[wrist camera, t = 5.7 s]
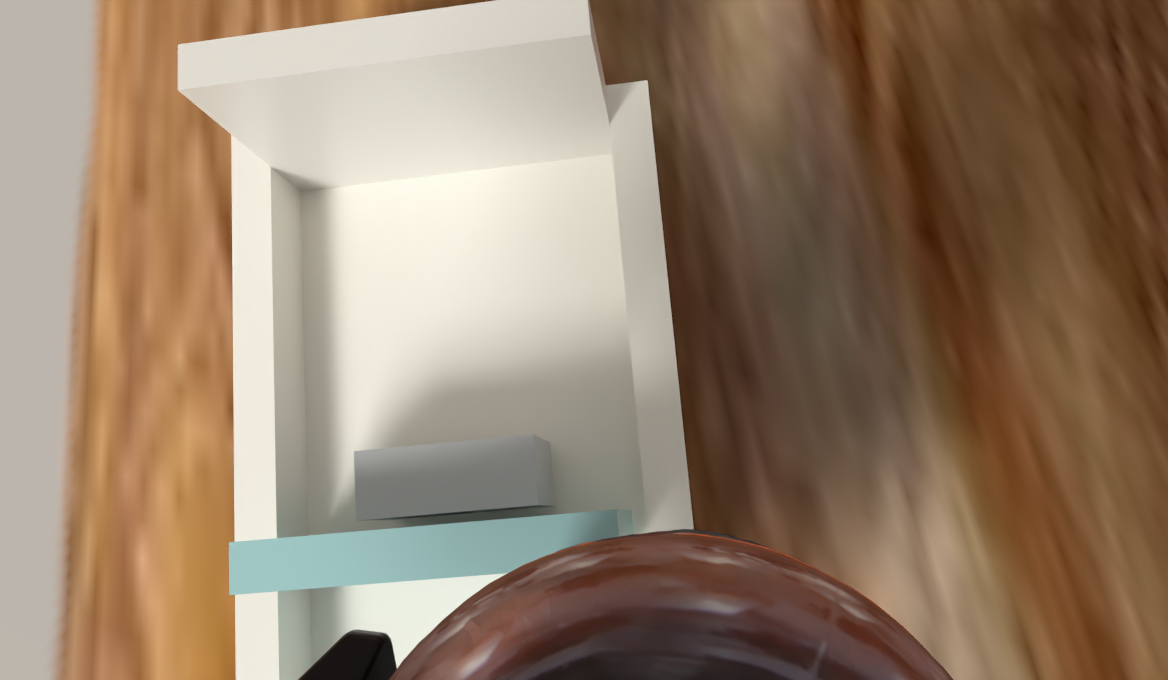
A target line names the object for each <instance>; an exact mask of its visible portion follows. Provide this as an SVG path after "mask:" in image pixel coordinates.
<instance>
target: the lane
mask: <svg viewBox="0 0 1168 680" xmlns="http://www.w3.org/2000/svg"><path fill="white" fill-rule="evenodd" d="M178 91H179V92H181V93H182V94H183V95H184V96H186V97H187V98H188V99H189V100H190V101H192V102H193V103H194V104H195V105H196V106H198V107H199V108H200V109H201V110H202V111H204V112H205V113H206V114H207V115H209V116H210V117H211V118H212V119H213V120H215V121H216V122H217V123H218V124H219V125H221V126H222V127H223V128H224V129H225V130H227V131H228V132H229V133H230V134H231V143H232V265H233V387H234V508H235V542H238V541H250V540H262V539H273V538H285V537H297V536H309V535H321V534H332V533H344V532H356V531H368V530H379V529H391V528H403V527H415V526H427V525H438V524H450V523H462V522H474V521H486V520H497V519H509V518H521V517H533V516H544V515H556V514H568V513H580V512H592V511H603V510H615V509H618V510H631V511H632V522H633V533H634V534H643V533H650V532H657V531H671V530H680V529H694V526H693V517H692V507H691V497H690V488H689V478H688V468H687V459H686V449H685V439H684V430H683V420H682V410H681V401H680V391H679V381H678V371H677V362H676V352H675V342H674V333H673V323H672V313H671V304H670V294H669V284H668V275H667V265H666V255H665V245H664V236H663V226H662V216H661V207H660V197H659V187H658V178H657V168H656V158H655V149H654V139H653V129H652V119H651V110H650V100H649V90H648V81H647V80H645V81H637V82H629V83H621V84H614V85H606V84H605V79H604V74H603V69H602V64H601V59H600V53H599V48H598V43H597V38H596V33H595V28H594V23H593V18H592V13H591V8H590V3H589V0H495V1H488V2H481V3H473V4H466V5H459V6H452V7H445V8H438V9H430V10H423V11H416V12H409V13H402V14H394V15H387V16H380V17H373V18H366V19H359V20H351V21H344V22H337V23H330V24H323V25H316V26H308V27H301V28H294V29H287V30H280V31H273V32H265V33H258V34H251V35H244V36H237V37H230V38H222V39H215V40H208V41H201V42H194V43H186V44H179V45H178ZM532 434H534V435H536V436H538V437H540V438H542V439H544V440H546V441H548V442H550V446H551V460H552V473H553V487H554V500H555V506H549V507H537V508H526V509H514V510H502V511H491V512H479V513H467V514H456V515H444V516H433V517H421V518H409V519H398V520H369V521H356V504H355V474H354V451H361V450H372V449H383V448H393V447H404V446H415V445H425V444H436V443H447V442H458V441H468V440H479V439H490V438H500V437H511V436H522V435H532ZM506 574H507V573H503V574H491V575H478V576H465V577H453V578H440V579H428V580H415V581H402V582H390V583H377V584H364V585H352V586H339V587H326V588H314V589H301V590H289V591H276V592H263V593H251V594H238V595H235V630H236V680H298V679H299V678H300V677H301V676H302V675H303V674H304V673H305V672H306V671H307V670H308V669H309V668H310V667H311V666H312V665H313V664H314V663H315V662H316V661H317V660H319V659H320V658H321V657H322V656H323V655H324V654H325V653H326V652H327V651H328V650H329V649H330V648H331V647H332V646H333V645H334V644H335V643H336V642H337V641H338V640H339V639H340V638H341V637H342V636H343V635H344V634H346V633H347V632H349V631H352V630H357V629H358V630H367V631H375V632H383V633H386V634H387V635H388V636H389V637H390V638H391V641H392V645H393V650H394V656H395V661H396V666H397V668H398V667H399V665H400V664H401V663H402V661H403V660H404V659H405V658H406V657H407V656H408V654H409V653H410V652H411V651H412V650H413V649H414V648H415V647H416V645H417V644H418V643H419V642H420V641H421V640H422V639H424V638H425V637H426V636H427V635H428V634H429V633H430V632H431V631H432V630H433V629H434V628H435V627H436V626H437V625H438V624H439V623H440V622H441V621H442V620H443V619H444V618H446V617H447V616H448V615H449V614H450V613H451V612H453V611H454V610H455V609H456V608H457V607H459V606H460V605H461V604H462V603H463V602H464V601H466V600H467V599H468V598H470V597H471V596H472V595H474V594H475V593H476V592H478V591H479V590H481V589H482V588H483V587H485V586H486V585H488V584H489V583H491V582H493V581H494V580H496V579H498V578H500V577H502V576H504V575H506Z"/></svg>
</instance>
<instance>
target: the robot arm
mask: <svg viewBox="0 0 1168 680" xmlns="http://www.w3.org/2000/svg"><path fill="white" fill-rule="evenodd" d="M396 670H397V666H396V661H395V656H394V650H393V645H392V641H391V638H390V637H389V636H388V635H387V634H386V633H383V632H375V631H367V630H358V629H357V630H352V631H349V632H347V633H346V634H344V635H343V636H342V637H341V638H340V639H339V640H338V641H337V642H336V643H335V644H334V645H333V646H332V647H331V648H330V649H329V650H328V651H327V652H326V653H325V654H324V655H323V656H322V657H321V658H320V659H319V660H317V661H316V662H315V663H314V664H313V665H312V666H311V667H310V668H309V669H308V670H307V671H306V672H305V673H304V674H303V675H302V676H301V677H300V678H299V679H298V680H389V679H390V677H391V676H392V675H393V673H394V672H395V671H396Z"/></svg>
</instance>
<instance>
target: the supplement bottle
mask: <svg viewBox="0 0 1168 680" xmlns="http://www.w3.org/2000/svg"><path fill="white" fill-rule="evenodd" d="M389 680H953V679H952V678H951V676H950V675H949V674H948V673H947V671H946V670H945V669H944V668H943V667H942V666H941V665H940V664H939V663H938V662H937V661H936V660H935V659H934V658H933V657H932V656H931V654H930V653H929V652H928V651H927V650H926V649H925V648H924V647H923V646H922V645H921V644H920V643H919V642H918V641H917V640H916V639H915V638H914V637H913V636H912V635H911V634H910V633H909V632H908V631H907V630H906V629H905V628H904V627H903V626H902V625H901V624H899V623H898V622H897V621H896V620H895V619H893V618H892V617H891V616H890V615H889V614H887V613H886V612H885V611H884V610H882V609H881V608H880V607H879V606H878V605H876V604H875V603H874V602H873V601H871V600H870V599H868V598H867V597H865V596H864V595H862V594H861V593H859V592H858V591H856V590H855V589H853V588H852V587H850V586H848V585H846V584H844V583H843V582H841V581H839V580H837V579H835V578H833V577H831V576H830V575H828V574H826V573H824V572H822V571H820V570H818V569H817V568H815V567H812V566H810V565H808V564H806V563H804V562H802V561H801V560H798V559H795V558H793V557H790V556H788V555H786V554H783V553H780V552H778V551H775V550H773V549H770V548H767V547H765V546H762V545H760V544H757V543H754V542H752V541H747V540H741V539H738V538H735V537H733V536H730V535H725V534H719V533H715V532H708V531H701V530H695V529H680V530H671V531H657V532H650V533H643V534H631V535H626V536H620V537H613V538H607V539H601V540H598V541H593V542H586V543H582V544H579V545H575V546H572V547H568V548H565V549H562V550H559V551H557V552H555V553H552V554H549V555H546V556H544V557H541V558H539V559H536V560H534V561H532V562H529V563H527V564H524V565H522V566H520V567H518V568H517V569H515V570H513V571H511V572H509V573H507V574H506V575H504V576H502V577H500V578H498V579H496V580H494V581H493V582H491V583H489V584H488V585H486V586H485V587H483V588H482V589H481V590H479V591H478V592H476V593H475V594H474V595H472V596H471V597H470V598H468V599H467V600H466V601H464V602H463V603H462V604H461V605H460V606H459V607H457V608H456V609H455V610H454V611H453V612H451V613H450V614H449V615H448V616H447V617H446V618H444V619H443V620H442V621H441V622H440V623H439V624H438V625H437V626H436V627H435V628H434V629H433V630H432V631H431V632H430V633H429V634H428V635H427V636H426V637H425V638H424V639H422V640H421V641H420V642H419V643H418V644H417V645H416V647H415V648H414V649H413V650H412V651H411V652H410V653H409V654H408V656H407V657H406V658H405V659H404V660H403V661H402V663H401V664H400V665H399V667H398V668H397V670H396V671H395V672H394V673H393V675H392V676H391V677H390V679H389Z"/></svg>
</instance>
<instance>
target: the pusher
mask: <svg viewBox="0 0 1168 680" xmlns="http://www.w3.org/2000/svg"><path fill="white" fill-rule="evenodd" d="M354 474H355V504H356V521H369V520H398V519H409V518H421V517H433V516H444V515H456V514H467V513H479V512H491V511H502V510H514V509H526V508H537V507H549V506H555V500H554V487H553V473H552V460H551V446H550V442H548V441H546V440H544V439H542V438H540V437H538V436H536V435H534V434H532V435H522V436H511V437H500V438H490V439H479V440H468V441H458V442H447V443H436V444H425V445H415V446H404V447H393V448H383V449H372V450H361V451H354ZM631 534H634V533H633V522H632V511H631V510H618V509H615V510H603V511H592V512H580V513H568V514H556V515H544V516H533V517H521V518H509V519H497V520H486V521H474V522H462V523H450V524H438V525H427V526H415V527H403V528H391V529H379V530H368V531H356V532H344V533H332V534H321V535H309V536H297V537H285V538H273V539H262V540H250V541H238V542H229V595H238V594H251V593H263V592H276V591H289V590H301V589H314V588H326V587H339V586H352V585H364V584H377V583H390V582H402V581H415V580H428V579H440V578H453V577H465V576H478V575H491V574H503V573H509V572H511V571H513V570H515V569H517V568H518V567H520V566H522V565H524V564H527V563H529V562H532V561H534V560H536V559H539V558H541V557H544V556H546V555H549V554H552V553H555V552H557V551H559V550H562V549H565V548H568V547H572V546H575V545H579V544H582V543H586V542H593V541H598V540H601V539H607V538H613V537H620V536H626V535H631Z"/></svg>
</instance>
